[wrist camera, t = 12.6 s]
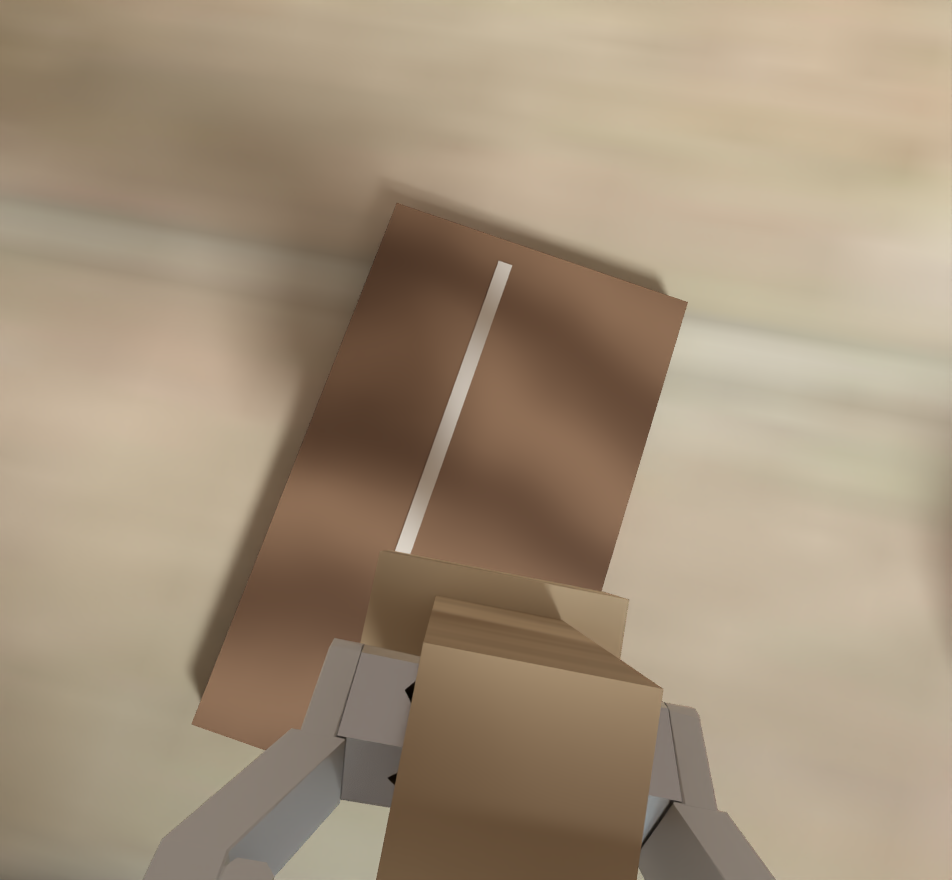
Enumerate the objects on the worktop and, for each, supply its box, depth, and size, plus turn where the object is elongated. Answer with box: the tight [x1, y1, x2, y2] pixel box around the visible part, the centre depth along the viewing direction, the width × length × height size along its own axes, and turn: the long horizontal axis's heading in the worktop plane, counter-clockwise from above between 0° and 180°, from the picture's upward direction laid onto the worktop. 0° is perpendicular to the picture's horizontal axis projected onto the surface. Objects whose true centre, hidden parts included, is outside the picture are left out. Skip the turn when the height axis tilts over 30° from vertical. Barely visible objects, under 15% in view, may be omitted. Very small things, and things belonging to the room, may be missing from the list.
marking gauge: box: [360, 550, 663, 880], centre depth 13 cm, size 4×6×10 cm
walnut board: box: [192, 203, 688, 750], centre depth 27 cm, size 22×13×2 cm, turn 161°
